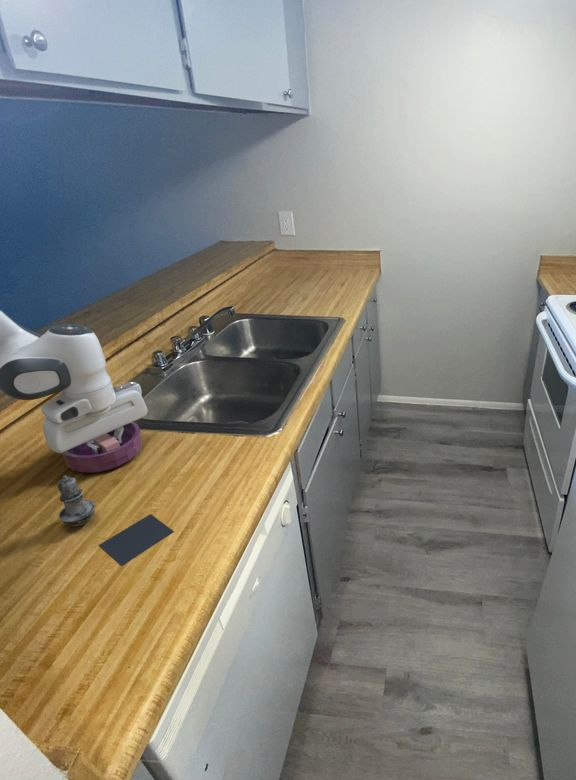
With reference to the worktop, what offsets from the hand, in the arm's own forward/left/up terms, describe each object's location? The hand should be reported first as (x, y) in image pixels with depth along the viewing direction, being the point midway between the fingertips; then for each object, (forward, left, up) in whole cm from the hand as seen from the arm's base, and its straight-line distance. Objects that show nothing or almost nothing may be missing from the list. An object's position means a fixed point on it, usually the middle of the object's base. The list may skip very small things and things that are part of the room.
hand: (107, 448), depth 109 cm
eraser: (0, 0, -1) cm, 1 cm away
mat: (-10, -29, -2) cm, 31 cm away
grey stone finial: (-14, -17, -3) cm, 22 cm away
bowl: (0, +2, -2) cm, 3 cm away
